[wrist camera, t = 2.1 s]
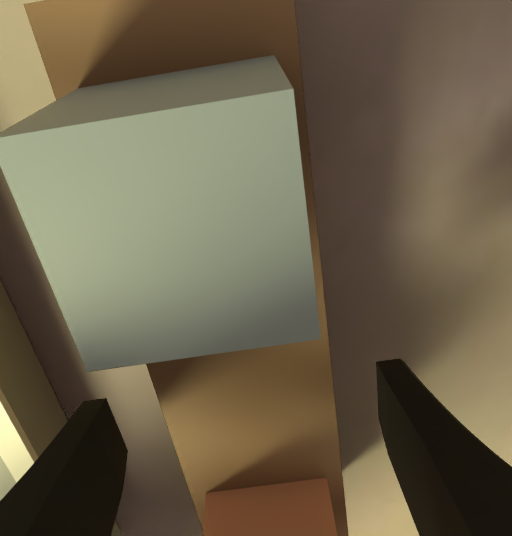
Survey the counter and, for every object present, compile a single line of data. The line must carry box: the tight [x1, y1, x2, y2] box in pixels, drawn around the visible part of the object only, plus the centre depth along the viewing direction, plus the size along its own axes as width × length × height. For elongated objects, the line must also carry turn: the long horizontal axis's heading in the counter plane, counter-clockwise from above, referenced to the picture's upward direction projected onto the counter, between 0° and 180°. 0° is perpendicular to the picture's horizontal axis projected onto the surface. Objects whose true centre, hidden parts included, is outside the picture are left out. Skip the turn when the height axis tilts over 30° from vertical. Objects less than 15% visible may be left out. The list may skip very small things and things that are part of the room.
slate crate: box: [0, 55, 321, 372], centre depth 9 cm, size 4×4×4 cm
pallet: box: [24, 0, 348, 536], centre depth 16 cm, size 20×5×4 cm, turn 9°
